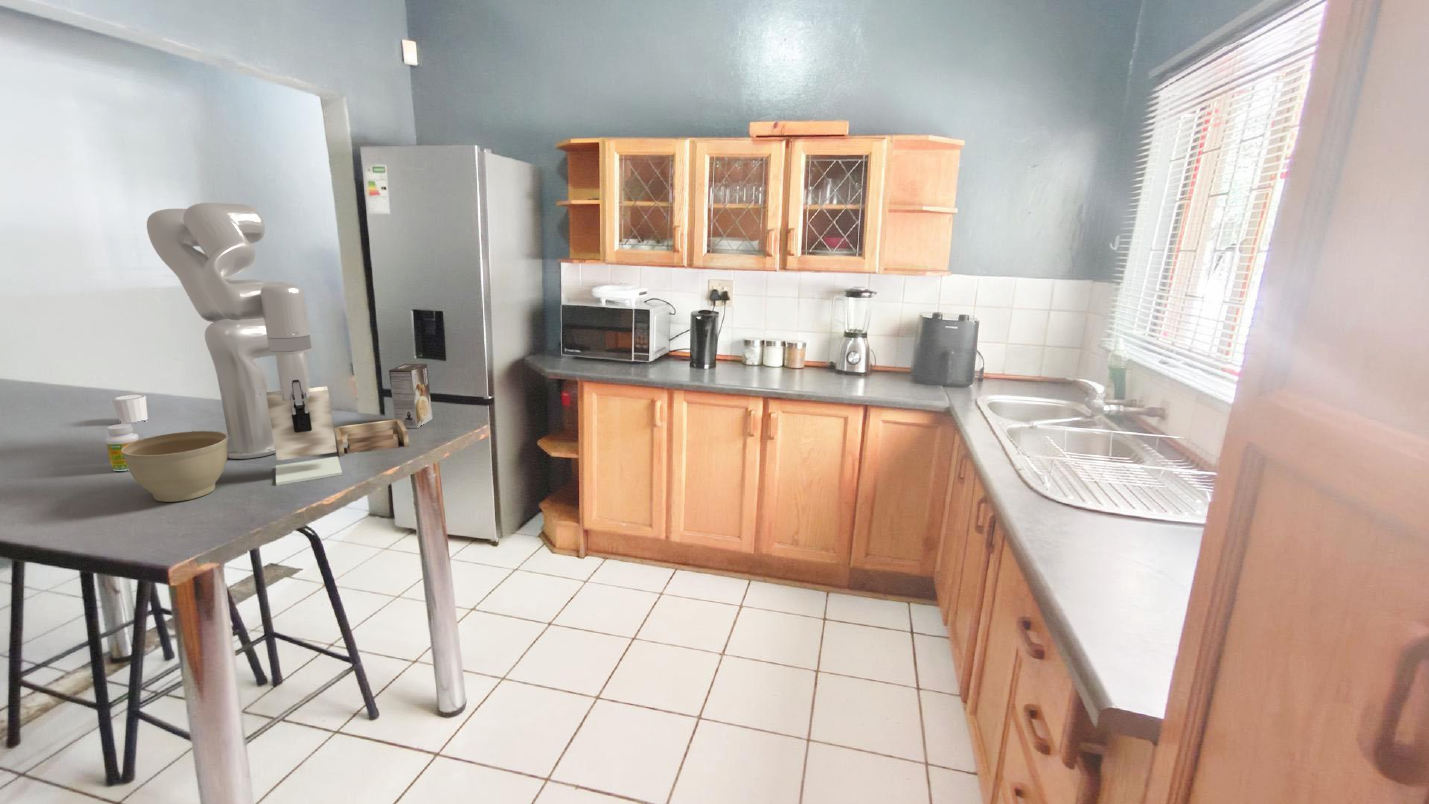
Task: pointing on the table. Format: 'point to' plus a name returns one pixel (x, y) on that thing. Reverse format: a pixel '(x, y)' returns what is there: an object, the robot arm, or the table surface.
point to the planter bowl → (178, 463)
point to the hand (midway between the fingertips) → (302, 427)
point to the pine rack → (396, 425)
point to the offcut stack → (371, 441)
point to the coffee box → (411, 394)
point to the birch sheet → (302, 442)
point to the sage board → (307, 470)
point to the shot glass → (131, 407)
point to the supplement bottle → (119, 444)
